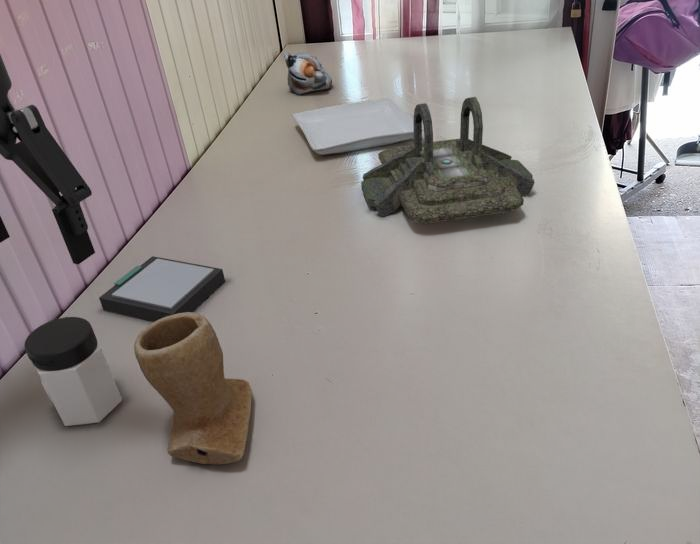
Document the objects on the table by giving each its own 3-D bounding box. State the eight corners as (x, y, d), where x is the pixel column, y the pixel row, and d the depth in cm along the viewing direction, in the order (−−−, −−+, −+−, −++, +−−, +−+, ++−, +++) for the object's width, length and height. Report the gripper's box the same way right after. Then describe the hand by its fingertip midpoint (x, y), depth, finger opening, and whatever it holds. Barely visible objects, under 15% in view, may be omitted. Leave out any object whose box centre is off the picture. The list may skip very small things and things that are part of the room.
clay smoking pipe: (173, 391, 87) (143, 300, 78) (258, 385, 87) (238, 293, 78) (147, 476, 76) (107, 381, 66) (246, 470, 75) (220, 373, 66)
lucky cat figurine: (341, 85, 195) (336, 47, 182) (318, 111, 192) (311, 75, 179) (303, 66, 199) (295, 28, 186) (279, 91, 196) (270, 55, 183)
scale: (102, 310, 105) (97, 295, 103) (155, 267, 115) (151, 253, 113) (176, 327, 100) (171, 312, 98) (225, 281, 109) (221, 266, 108)
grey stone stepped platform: (559, 217, 118) (573, 119, 107) (382, 243, 116) (377, 145, 104) (496, 150, 145) (502, 66, 134) (352, 169, 143) (345, 86, 132)
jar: (51, 400, 88) (16, 331, 80) (108, 376, 91) (79, 307, 84) (68, 437, 82) (32, 366, 74) (129, 409, 85) (100, 338, 78)
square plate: (292, 127, 169) (290, 112, 166) (390, 110, 173) (389, 95, 171) (314, 163, 148) (312, 146, 145) (425, 143, 152) (425, 127, 150)
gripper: (81, 46, 59) (145, 249, 72) (-95, 41, 68) (-9, 221, 81) (18, 69, 53) (100, 283, 66) (-163, 60, 63) (-60, 250, 76)
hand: (40, 250), depth 74 cm, fingers open, 13 cm apart
